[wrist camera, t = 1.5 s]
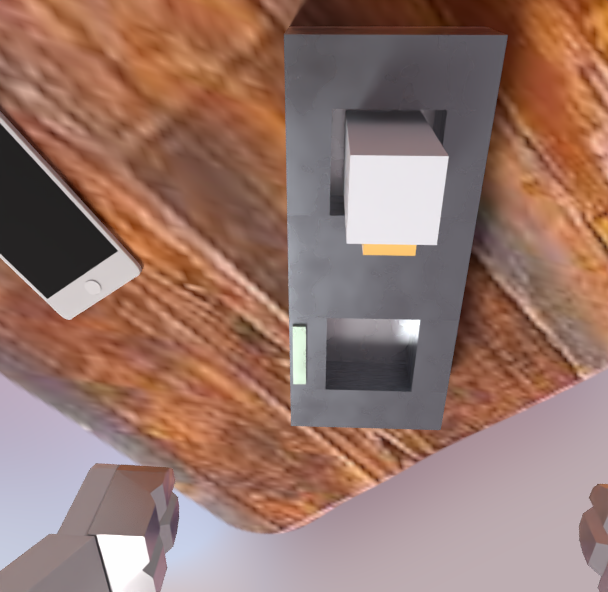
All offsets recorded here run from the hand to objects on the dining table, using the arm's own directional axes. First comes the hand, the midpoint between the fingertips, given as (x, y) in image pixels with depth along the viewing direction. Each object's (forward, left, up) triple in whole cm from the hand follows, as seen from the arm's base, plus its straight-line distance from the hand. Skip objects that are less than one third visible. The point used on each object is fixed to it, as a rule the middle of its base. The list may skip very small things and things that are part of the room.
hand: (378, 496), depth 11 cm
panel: (+6, +2, -24) cm, 25 cm away
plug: (0, +2, -23) cm, 23 cm away
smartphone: (+4, -20, -25) cm, 32 cm away
